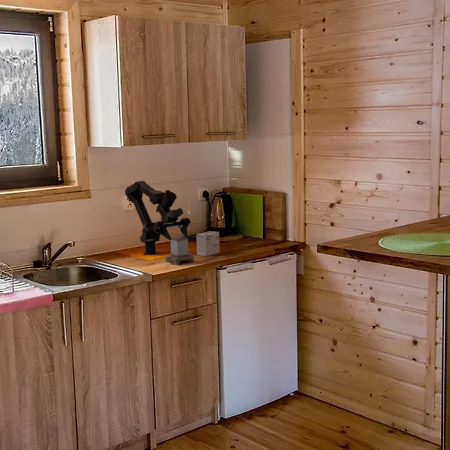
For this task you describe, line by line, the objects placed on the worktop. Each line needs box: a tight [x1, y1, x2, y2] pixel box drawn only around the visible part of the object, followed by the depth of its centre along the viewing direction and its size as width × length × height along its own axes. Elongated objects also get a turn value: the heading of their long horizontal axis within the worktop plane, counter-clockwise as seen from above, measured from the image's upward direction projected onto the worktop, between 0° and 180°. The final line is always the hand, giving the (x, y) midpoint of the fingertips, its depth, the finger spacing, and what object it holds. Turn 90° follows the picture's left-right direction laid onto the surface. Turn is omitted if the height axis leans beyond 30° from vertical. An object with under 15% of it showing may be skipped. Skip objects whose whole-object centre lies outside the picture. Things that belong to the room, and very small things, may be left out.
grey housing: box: [170, 235, 189, 258], centre depth 331 cm, size 6×6×9 cm
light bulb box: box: [196, 230, 221, 257], centre depth 350 cm, size 11×7×11 cm, turn 141°
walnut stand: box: [164, 254, 195, 266], centre depth 332 cm, size 10×10×3 cm
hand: (178, 238), depth 331 cm, fingers open, 9 cm apart
